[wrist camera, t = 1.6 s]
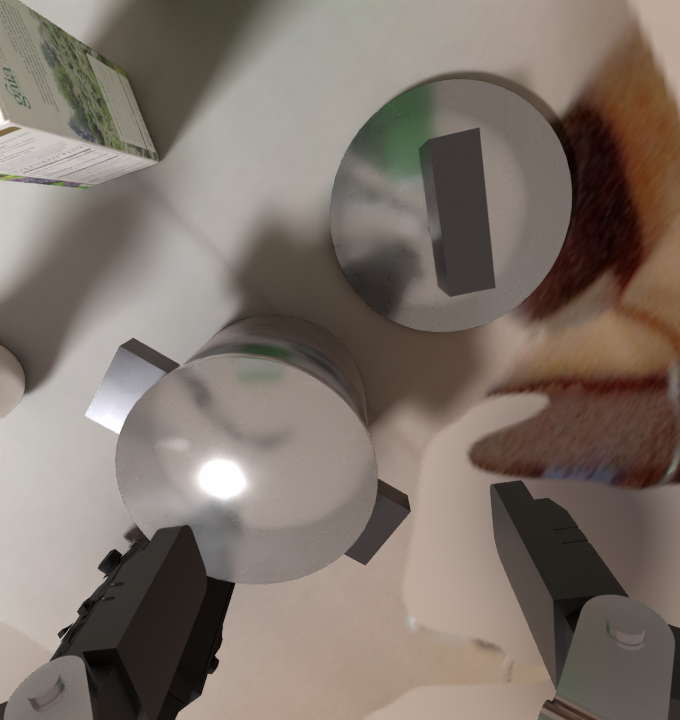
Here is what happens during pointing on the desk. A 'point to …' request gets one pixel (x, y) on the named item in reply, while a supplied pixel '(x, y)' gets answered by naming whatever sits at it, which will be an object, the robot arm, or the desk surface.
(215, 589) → the camera
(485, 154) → the lid
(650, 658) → the robot arm
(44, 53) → the syrup box
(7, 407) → the plastic bottle
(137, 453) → the pot
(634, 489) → the desk surface
